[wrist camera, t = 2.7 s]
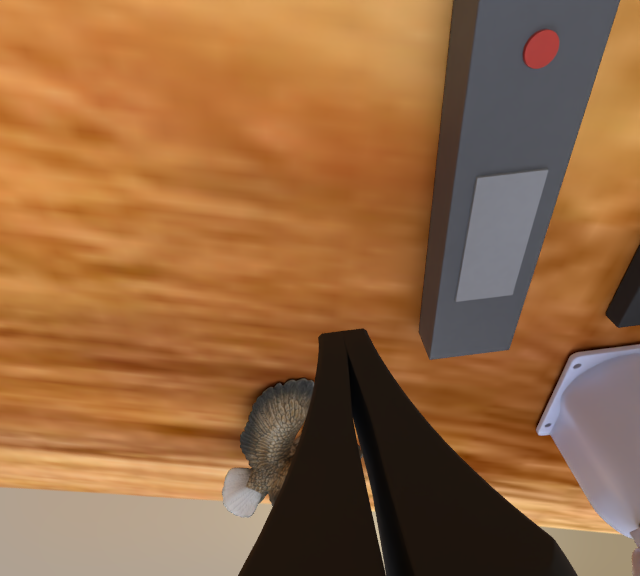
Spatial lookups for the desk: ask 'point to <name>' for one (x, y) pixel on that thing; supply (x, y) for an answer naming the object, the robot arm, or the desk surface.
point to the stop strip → (627, 297)
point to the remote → (503, 159)
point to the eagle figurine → (268, 446)
